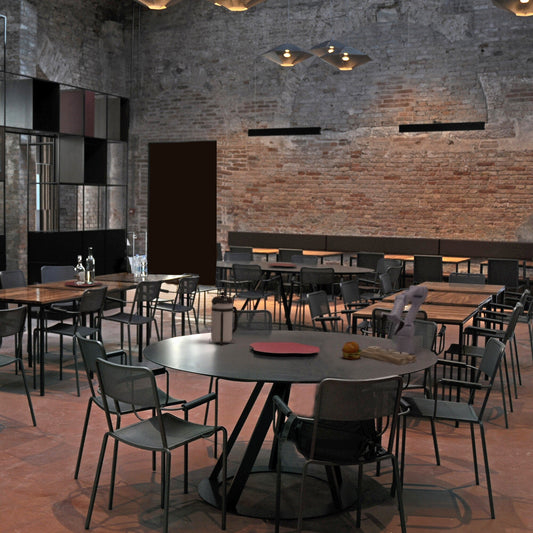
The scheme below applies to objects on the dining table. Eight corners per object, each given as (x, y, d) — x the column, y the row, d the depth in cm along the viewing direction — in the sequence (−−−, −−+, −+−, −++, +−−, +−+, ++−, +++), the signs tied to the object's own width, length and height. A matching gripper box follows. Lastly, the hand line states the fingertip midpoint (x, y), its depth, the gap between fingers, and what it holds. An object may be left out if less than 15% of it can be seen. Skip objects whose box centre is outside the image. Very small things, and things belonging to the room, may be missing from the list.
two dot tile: (386, 353, 402) (386, 348, 402) (395, 354, 398) (395, 349, 397) (379, 354, 398) (379, 349, 398) (387, 356, 394) (388, 351, 393)
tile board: (375, 352, 413) (375, 347, 413) (416, 361, 392) (416, 356, 392) (358, 355, 404) (359, 350, 404) (399, 365, 383) (399, 359, 383)
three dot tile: (399, 355, 395) (399, 350, 395) (408, 357, 391) (408, 352, 391) (392, 357, 391) (392, 352, 391) (401, 359, 387) (401, 354, 387)
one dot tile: (373, 350, 409) (374, 345, 409) (382, 352, 404) (382, 347, 404) (366, 351, 405) (366, 346, 405) (375, 353, 400) (375, 348, 400)
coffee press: (235, 346, 423) (236, 293, 420) (207, 345, 423) (208, 293, 421) (237, 340, 440) (238, 290, 438) (210, 339, 440) (211, 289, 438)
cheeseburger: (364, 357, 400) (363, 340, 397) (356, 365, 391) (355, 348, 388) (347, 354, 405) (346, 337, 402) (339, 362, 396) (338, 345, 393)
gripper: (386, 302, 399) (377, 321, 391) (411, 313, 397) (403, 332, 389) (383, 309, 405) (374, 328, 397) (407, 320, 402) (400, 339, 394)
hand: (388, 331), depth 393 cm, fingers open, 7 cm apart
